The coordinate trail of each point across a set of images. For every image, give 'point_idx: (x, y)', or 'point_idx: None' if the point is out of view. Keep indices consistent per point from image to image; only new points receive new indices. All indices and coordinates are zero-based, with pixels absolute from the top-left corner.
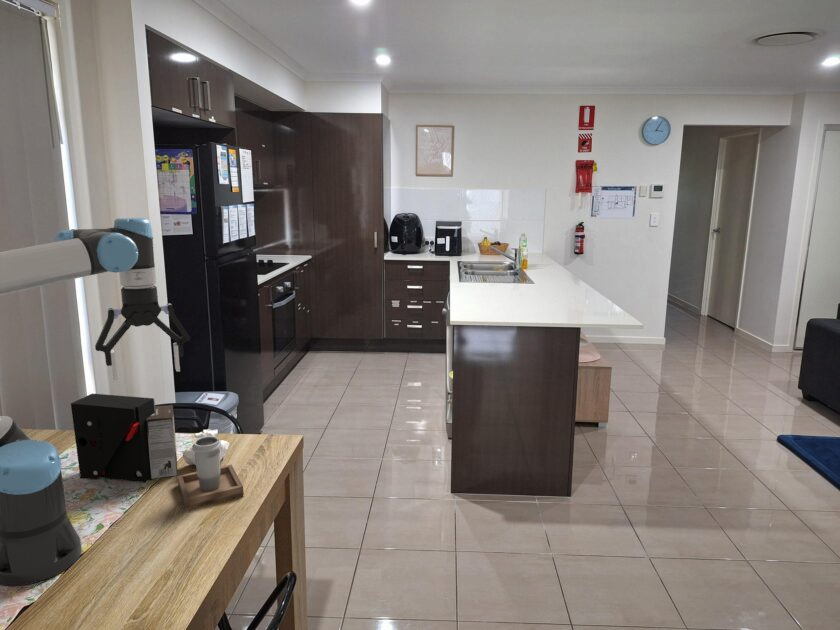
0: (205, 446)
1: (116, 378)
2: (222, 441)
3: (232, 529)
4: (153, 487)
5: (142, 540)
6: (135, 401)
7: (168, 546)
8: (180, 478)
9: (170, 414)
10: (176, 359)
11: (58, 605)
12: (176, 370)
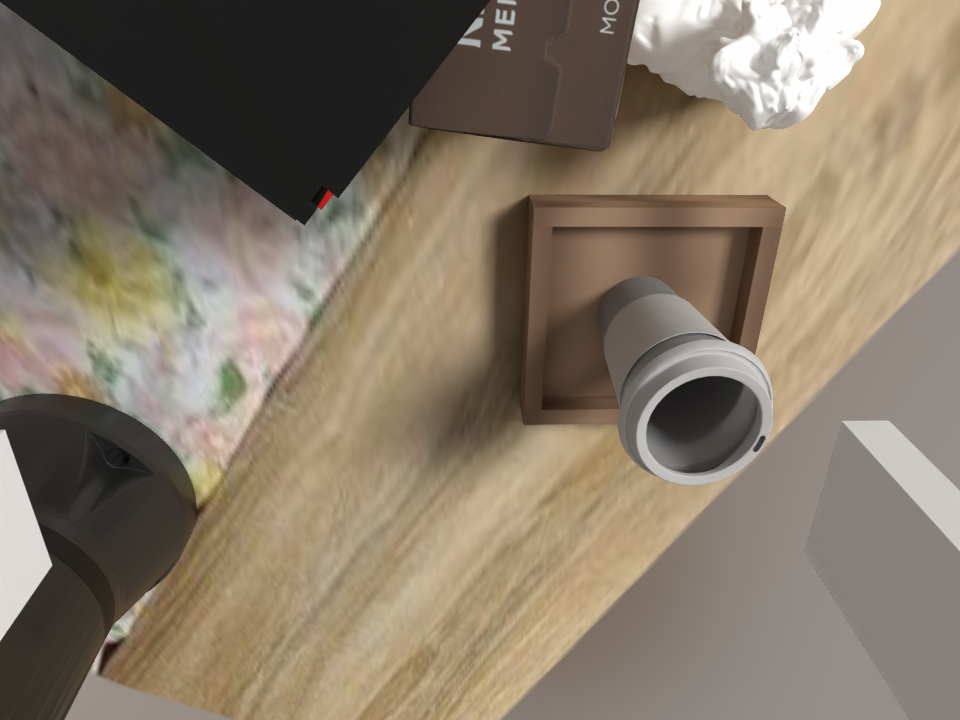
0: (676, 483)
1: (34, 577)
2: (851, 18)
3: (619, 560)
4: (425, 162)
5: (369, 511)
6: (312, 4)
7: (437, 564)
8: (541, 241)
9: (603, 79)
10: (913, 710)
11: (184, 665)
12: (814, 543)
